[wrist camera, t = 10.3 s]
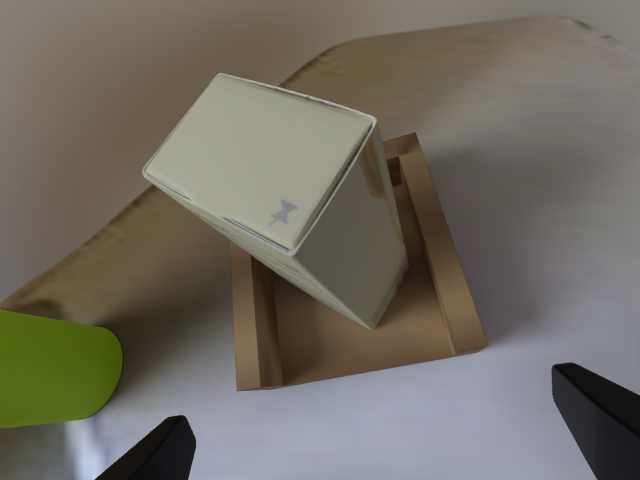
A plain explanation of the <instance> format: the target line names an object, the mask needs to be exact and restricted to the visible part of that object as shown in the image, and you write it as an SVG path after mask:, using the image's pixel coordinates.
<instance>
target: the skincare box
mask: <svg viewBox="0 0 640 480" xmlns="http://www.w3.org/2000/svg"><path fill="white" fill-rule="evenodd" d="M142 173H143V176H144V177H145V178H146V179H147V180H149V181H150V182H151V183H153V184H154V185H156V186H157V187H158V188H160V189H161V190H162V191H164V192H165V193H167V194H168V195H169V196H171V197H172V198H173V199H175V200H176V201H178V202H179V203H180V204H182V205H183V206H185V207H186V208H187V209H189V210H190V211H191V212H193V213H194V214H196V215H197V216H198V217H200V218H201V219H203V220H204V221H205V222H207V223H208V224H209V225H211V226H212V227H214V228H215V229H216V230H218V231H219V232H221V233H222V234H223V235H225V236H226V237H227V238H229V239H230V240H232V241H233V242H234V243H236V244H237V245H238V246H240V247H241V248H243V249H244V250H245V251H247V252H248V253H250V254H251V255H252V256H254V257H255V258H256V259H258V260H259V261H261V262H262V263H263V264H265V265H266V266H267V267H269V268H270V269H272V270H273V271H274V272H276V273H277V274H278V275H280V276H281V277H283V278H284V279H285V280H287V281H288V282H289V283H291V284H293V285H294V286H296V287H297V288H299V289H300V290H302V291H304V292H305V293H307V294H308V295H310V296H312V297H313V298H315V299H317V300H318V301H320V302H322V303H323V304H325V305H327V306H328V307H330V308H332V309H334V310H335V311H337V312H339V313H341V314H342V315H344V316H346V317H348V318H349V319H351V320H353V321H355V322H357V323H359V324H360V325H362V326H364V327H366V328H368V329H370V330H374V329H375V327H376V325H377V324H378V322H379V321H380V319H381V317H382V316H383V314H384V312H385V310H386V309H387V307H388V305H389V304H390V302H391V300H392V298H393V297H394V295H395V293H396V291H397V289H398V288H399V286H400V284H401V282H402V280H403V278H404V276H405V274H406V272H407V270H408V268H409V264H408V259H407V254H406V249H405V245H404V241H403V236H402V231H401V226H400V221H399V216H398V212H397V207H396V202H395V198H394V194H393V189H392V184H391V180H390V176H389V170H388V166H387V162H386V157H385V152H384V147H383V143H382V138H381V134H380V129H379V123H378V121H377V119H376V118H375V117H373V116H371V115H368V114H365V113H362V112H360V111H357V110H354V109H351V108H347V107H345V106H342V105H339V104H335V103H332V102H329V101H325V100H323V99H319V98H315V97H312V96H309V95H305V94H301V93H298V92H294V91H291V90H287V89H283V88H279V87H275V86H272V85H268V84H264V83H260V82H257V81H252V80H248V79H244V78H239V77H235V76H231V75H227V74H223V73H219V74H218V75H216V77H215V78H214V79H213V80H212V82H211V83H210V84H209V86H208V87H207V88H206V90H205V91H204V92H203V93H202V95H201V96H200V97H199V98H198V100H197V101H196V102H195V103H194V105H193V106H192V107H191V108H190V110H189V111H188V112H187V113H186V114H185V116H184V117H183V118H182V120H181V121H180V122H179V123H178V125H177V126H176V127H175V128H174V130H173V131H172V132H171V133H170V135H169V136H168V137H167V139H166V140H165V141H164V142H163V143H162V145H161V146H160V147H159V149H158V150H157V151H156V152H155V154H154V155H153V156H152V157H151V159H150V160H149V161H148V162H147V164H146V165H145V166H144V167H143V171H142Z"/></svg>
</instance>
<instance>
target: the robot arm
mask: <svg viewBox="0 0 640 480" xmlns="http://www.w3.org/2000/svg"><path fill="white" fill-rule="evenodd" d="M552 395H553V399H554V402H555V404H556V406H557V408H558V410H559V412H560V413H561V415H562V417H563V419H564V421H565V422H566V424H567V426H568V428H569V430H570V432H571V433H572V435H573V437H574V439H575V441H576V443H577V444H578V446H579V448H580V450H581V452H582V454H583V455H584V457H585V459H586V461H587V463H588V465H589V466H590V468H591V470H592V472H593V473H594V475H595V477H596V478H597V480H640V395H638V394H636V393H634V392H632V391H630V390H628V389H626V388H624V387H622V386H620V385H618V384H616V383H614V382H612V381H610V380H608V379H606V378H604V377H602V376H600V375H598V374H596V373H594V372H591V371H589V370H587V369H585V368H583V367H581V366H579V365H577V364H575V363H562V364H555V365H553V366H552ZM195 449H196V439H195V436H194V434H193V431H192V429H191V427H190V425H189V422H188V420H187V418H186V417H185V416H183V415H179V416H171V417H168V418H167V419H165V420H164V421H163V422H162V423H161V424H159V425H158V426H157V427H156V428H155V429H154V430H152V431H151V432H150V433H149V434H148V435H146V436H145V437H144V438H143V439H142V440H141V441H139V442H138V443H137V444H136V445H135V446H133V447H132V448H131V449H130V450H129V451H128V452H126V453H125V454H124V455H123V456H122V457H121V458H119V459H118V460H117V461H116V462H115V463H113V464H112V465H111V466H110V467H109V468H108V469H106V470H105V471H104V472H103V473H102V474H101V475H99V476H98V477H97V478H96V479H95V480H188V478H189V474H190V470H191V466H192V462H193V458H194V453H195Z"/></svg>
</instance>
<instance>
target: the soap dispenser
mask: <svg viewBox="0 0 640 480" xmlns="http://www.w3.org/2000/svg"><path fill="white" fill-rule="evenodd" d="M122 363H123V356H122V349H121V345H120V343H119V340H118V339H117V337H116V336H115V335H114V334H113V333H112V332H111V331H110V330H108V329H106V328H102V327H97V326H91V325H85V324H80V323H74V322H68V321H62V320H56V319H51V318H45V317H39V316H33V315H27V314H22V313H16V312H10V311H4V310H0V428H8V427H17V426H27V425H36V424H45V423H55V422H64V421H73V420H81V419H84V418H87V417H89V416H91V415H93V414H94V413H96V412H97V411H98V410H99V409H101V408H102V407H103V406H104V405H105V403H106V402H107V401H108V400H109V398H110V397H111V395H112V394H113V392H114V390H115V388H116V386H117V384H118V381H119V378H120V375H121V371H122Z"/></svg>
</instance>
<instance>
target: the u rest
mask: <svg viewBox="0 0 640 480" xmlns="http://www.w3.org/2000/svg"><path fill="white" fill-rule="evenodd" d="M382 143H383V147H384V152H385V157H386V162H387V166H388V170H389V176H390V180H391V184H392V189H393V194H394V198H395V202H396V207H397V212H398V216H399V221H400V226H401V231H402V236H403V241H404V245H405V249H406V254H407V259H408V264H409V268H408V270H407V272H406V274H405V276H404V278H403V280H402V282H401V284H400V286H399V288H398V289H397V291H396V293H395V295H394V297H393V298H392V300H391V302H390V304H389V305H388V307H387V309H386V310H385V312H384V314H383V316H382V317H381V319H380V321H379V322H378V324H377V325H376V327H375V329H374V330H370V329H368V328H366V327H364V326H362V325H360V324H359V323H357V322H355V321H353V320H351V319H349V318H348V317H346V316H344V315H342V314H341V313H339V312H337V311H335V310H334V309H332V308H330V307H328V306H327V305H325V304H323V303H322V302H320V301H318V300H317V299H315V298H313V297H312V296H310V295H308V294H307V293H305V292H304V291H302V290H300V289H299V288H297V287H296V286H294V285H293V284H291V283H289V282H288V281H287V280H285V279H284V278H283V277H281V276H280V275H278V274H277V273H276V272H274V271H273V270H272V269H270V268H269V267H267V266H266V265H265V264H263V263H262V262H261V261H259V260H258V259H256V258H255V257H254V256H252V255H251V254H250V253H248V252H247V251H245V250H244V249H243V248H241V247H240V246H238V245H237V244H236V243H234V242H233V241H232V240H230V259H231V280H232V301H233V321H234V342H235V363H236V383H237V391H251V390H270V389H276V388H281V387H287V386H292V385H298V384H304V383H309V382H315V381H320V380H326V379H332V378H337V377H343V376H349V375H354V374H360V373H365V372H371V371H377V370H382V369H388V368H393V367H399V366H405V365H410V364H416V363H421V362H427V361H433V360H438V359H444V358H449V357H455V356H461V355H466V354H472V353H477V352H478V351H480V350H482V349H483V348H485V347H487V346H488V343H487V340H486V338H485V335H484V332H483V329H482V326H481V323H480V320H479V317H478V314H477V311H476V308H475V305H474V302H473V299H472V296H471V294H470V291H469V288H468V285H467V282H466V279H465V276H464V273H463V270H462V267H461V264H460V261H459V258H458V255H457V252H456V250H455V247H454V244H453V241H452V238H451V235H450V232H449V229H448V226H447V223H446V220H445V217H444V214H443V211H442V209H441V206H440V203H439V200H438V197H437V194H436V191H435V188H434V185H433V182H432V179H431V176H430V173H429V170H428V167H427V165H426V162H425V159H424V156H423V153H422V150H421V147H420V144H419V141H418V138H417V135H416V132H415V133H411V134H408V135H405V136H401V137H398V138H395V139H391V140H388V141H385V142H382Z"/></svg>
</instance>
